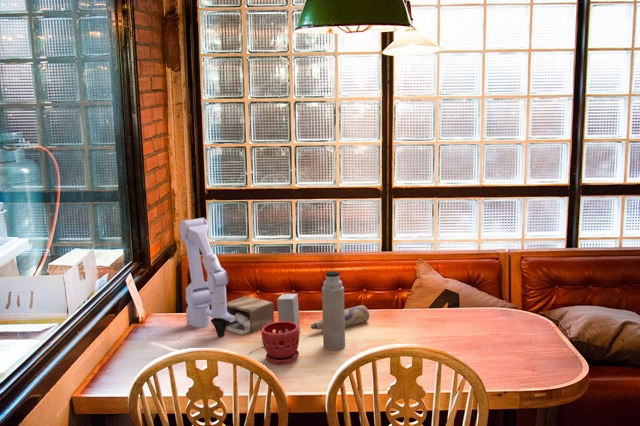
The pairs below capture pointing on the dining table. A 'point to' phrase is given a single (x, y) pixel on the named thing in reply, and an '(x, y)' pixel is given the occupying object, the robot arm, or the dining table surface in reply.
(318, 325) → the decorative bottle
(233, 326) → the tray
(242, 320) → the white rounded piece
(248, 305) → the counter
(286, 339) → the plant pot
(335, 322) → the thermos bottle
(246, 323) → the pale pink rounded cylinder
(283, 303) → the skincare box
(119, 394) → the dining table surface
